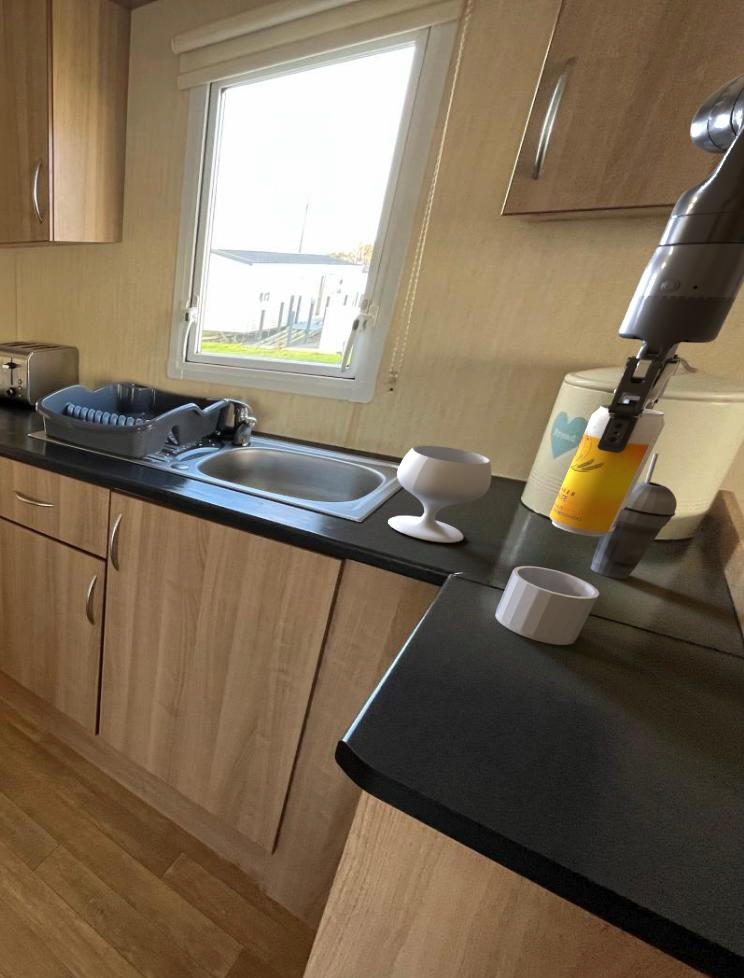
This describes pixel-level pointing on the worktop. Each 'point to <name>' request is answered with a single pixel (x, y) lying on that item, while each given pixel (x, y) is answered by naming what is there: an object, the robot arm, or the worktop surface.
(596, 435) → the beer can
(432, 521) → the chalice
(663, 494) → the beverage cup
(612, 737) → the worktop surface
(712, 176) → the robot arm
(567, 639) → the can holder
